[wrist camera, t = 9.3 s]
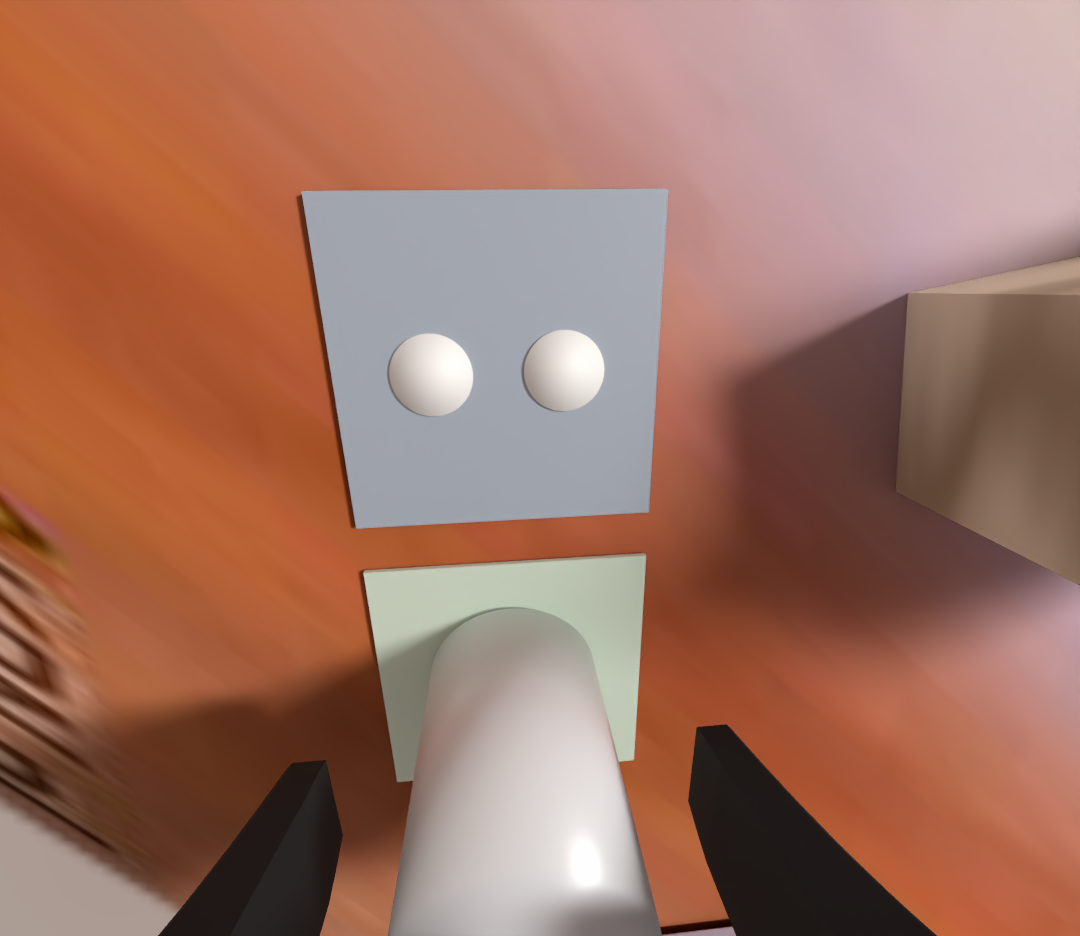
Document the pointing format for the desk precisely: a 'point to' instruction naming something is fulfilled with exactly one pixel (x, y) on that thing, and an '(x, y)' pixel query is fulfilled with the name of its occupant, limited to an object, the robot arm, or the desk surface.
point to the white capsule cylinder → (519, 794)
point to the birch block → (998, 409)
